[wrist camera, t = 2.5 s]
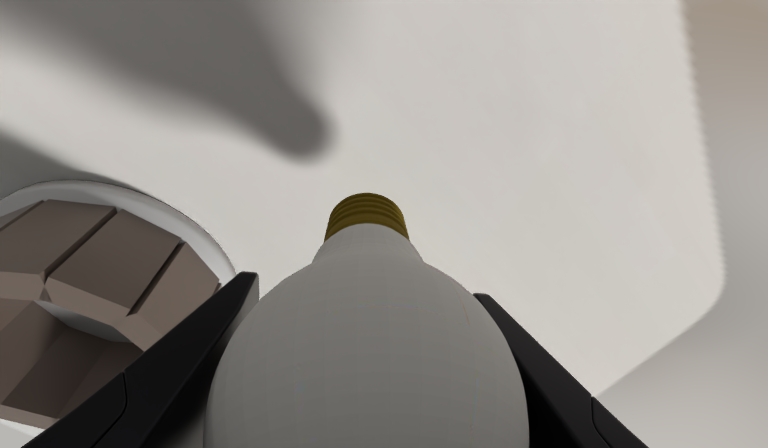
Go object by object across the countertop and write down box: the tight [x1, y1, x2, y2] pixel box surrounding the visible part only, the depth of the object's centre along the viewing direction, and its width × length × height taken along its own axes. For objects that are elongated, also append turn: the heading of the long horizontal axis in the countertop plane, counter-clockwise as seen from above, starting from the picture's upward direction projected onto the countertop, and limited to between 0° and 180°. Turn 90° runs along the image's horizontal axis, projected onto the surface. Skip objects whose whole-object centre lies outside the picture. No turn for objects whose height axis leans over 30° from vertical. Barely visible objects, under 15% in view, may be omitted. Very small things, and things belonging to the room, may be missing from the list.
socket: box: [0, 180, 236, 429], centre depth 15 cm, size 11×11×5 cm
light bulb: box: [203, 193, 529, 448], centre depth 9 cm, size 6×6×10 cm
